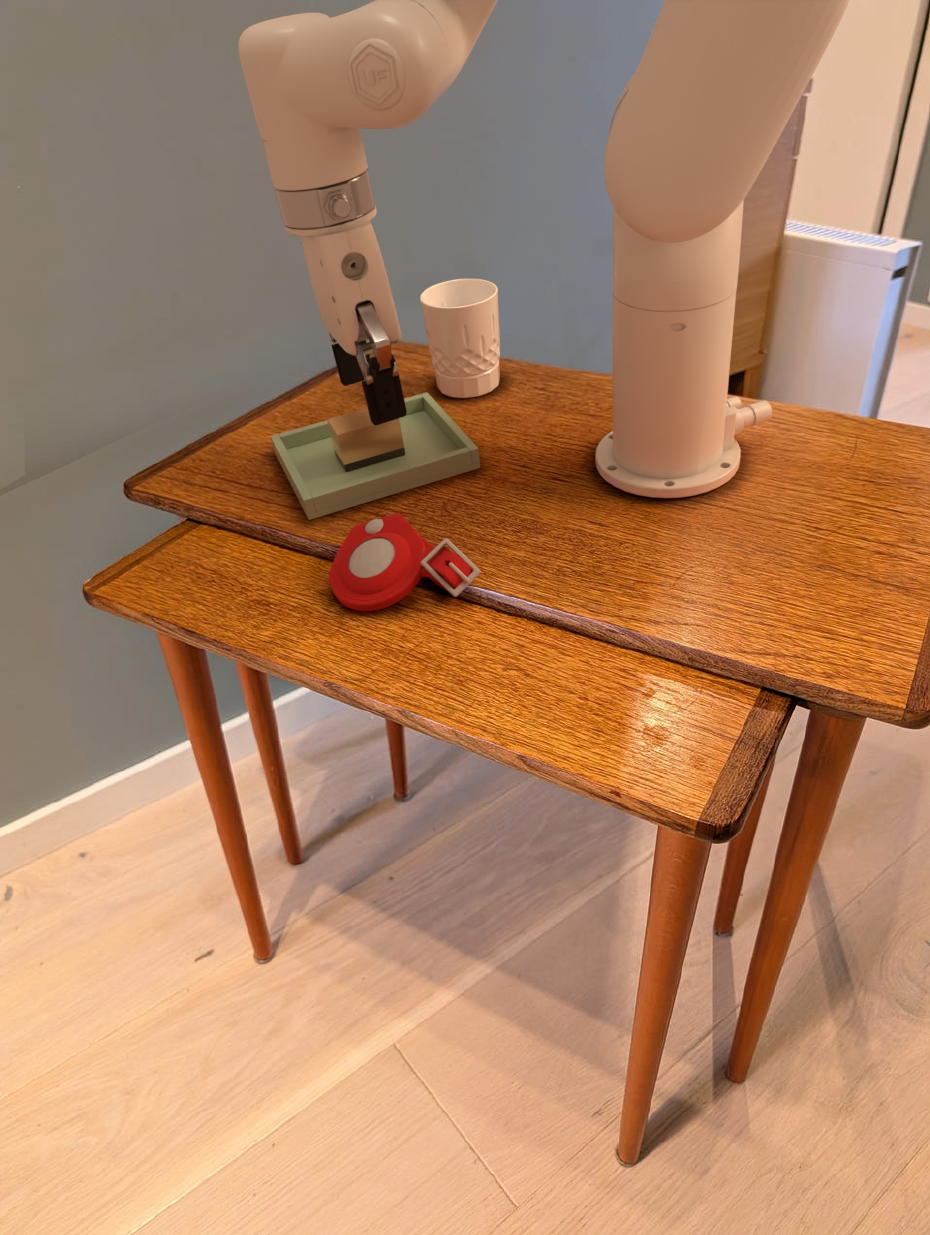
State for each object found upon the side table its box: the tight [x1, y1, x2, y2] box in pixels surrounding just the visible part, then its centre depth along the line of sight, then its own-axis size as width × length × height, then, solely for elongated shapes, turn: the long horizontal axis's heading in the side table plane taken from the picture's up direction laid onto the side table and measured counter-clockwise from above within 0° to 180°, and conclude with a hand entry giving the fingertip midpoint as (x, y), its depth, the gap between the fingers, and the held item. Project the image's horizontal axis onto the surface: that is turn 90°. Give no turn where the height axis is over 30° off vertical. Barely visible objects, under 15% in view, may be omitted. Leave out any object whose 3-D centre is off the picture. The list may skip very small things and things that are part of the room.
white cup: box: [419, 278, 501, 399], centre depth 94 cm, size 8×8×10 cm
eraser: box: [327, 407, 405, 472], centre depth 85 cm, size 6×4×4 cm, turn 112°
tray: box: [270, 391, 481, 521], centre depth 86 cm, size 17×14×2 cm
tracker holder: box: [328, 512, 482, 612], centre depth 70 cm, size 12×4×10 cm
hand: (373, 399), depth 82 cm, fingers open, 9 cm apart
